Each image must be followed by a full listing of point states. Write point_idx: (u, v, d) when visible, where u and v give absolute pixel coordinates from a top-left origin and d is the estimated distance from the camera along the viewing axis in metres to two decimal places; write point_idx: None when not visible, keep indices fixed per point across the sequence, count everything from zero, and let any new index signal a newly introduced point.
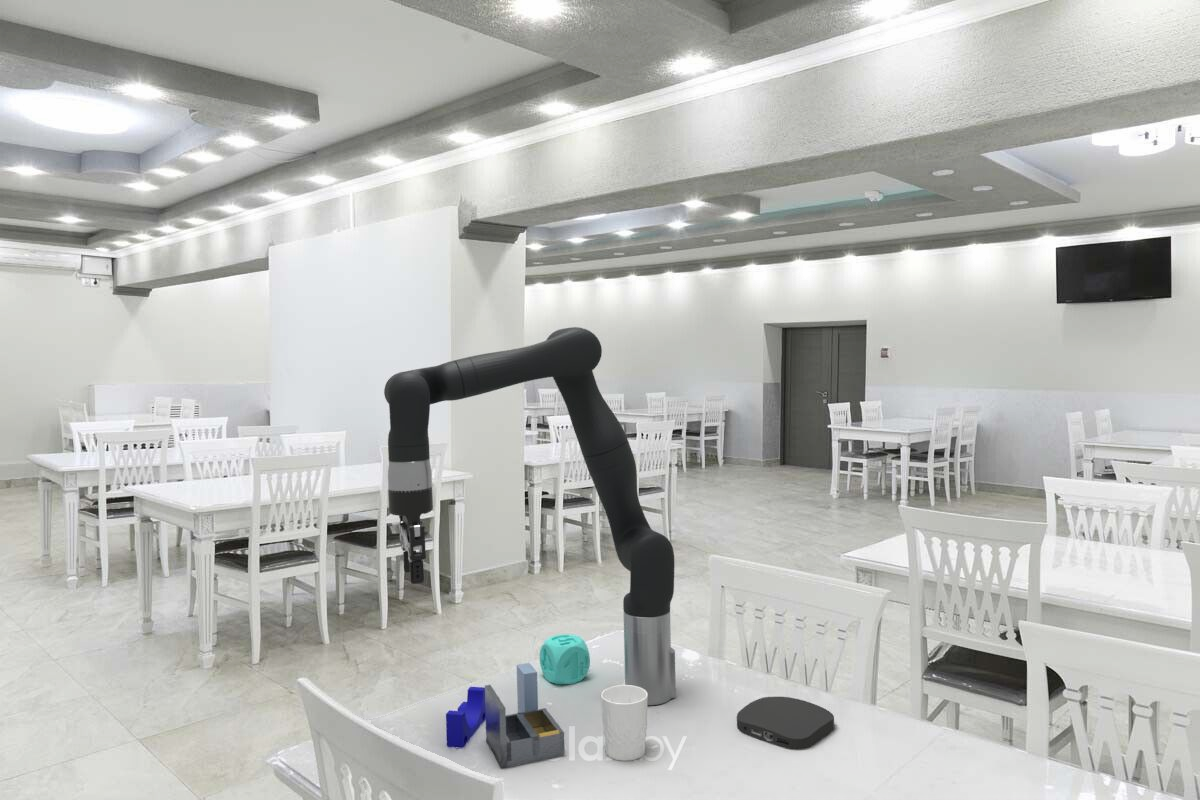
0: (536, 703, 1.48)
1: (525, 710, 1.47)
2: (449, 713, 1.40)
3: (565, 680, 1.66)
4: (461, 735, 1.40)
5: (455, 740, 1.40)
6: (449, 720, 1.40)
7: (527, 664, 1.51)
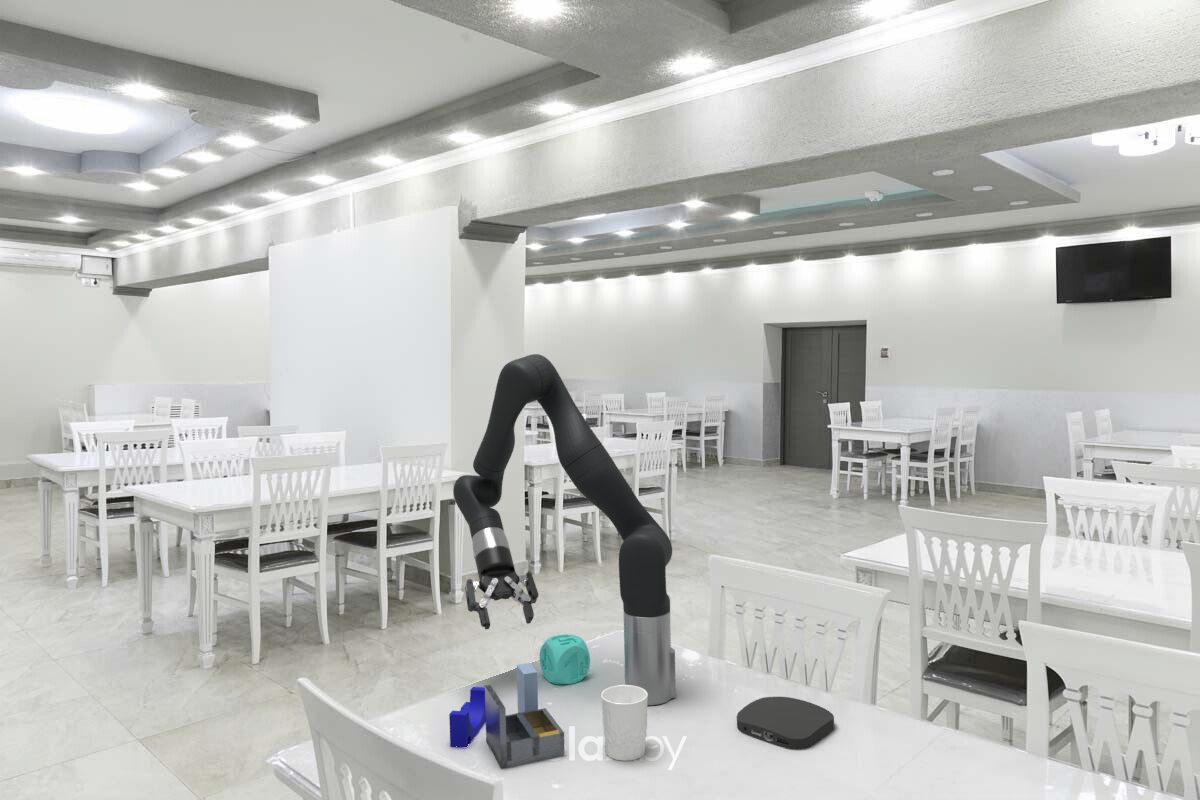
0: (536, 703, 1.48)
1: (525, 710, 1.47)
2: (452, 713, 1.40)
3: (565, 680, 1.66)
4: (465, 735, 1.40)
5: (459, 740, 1.40)
6: (452, 720, 1.40)
7: (527, 664, 1.51)
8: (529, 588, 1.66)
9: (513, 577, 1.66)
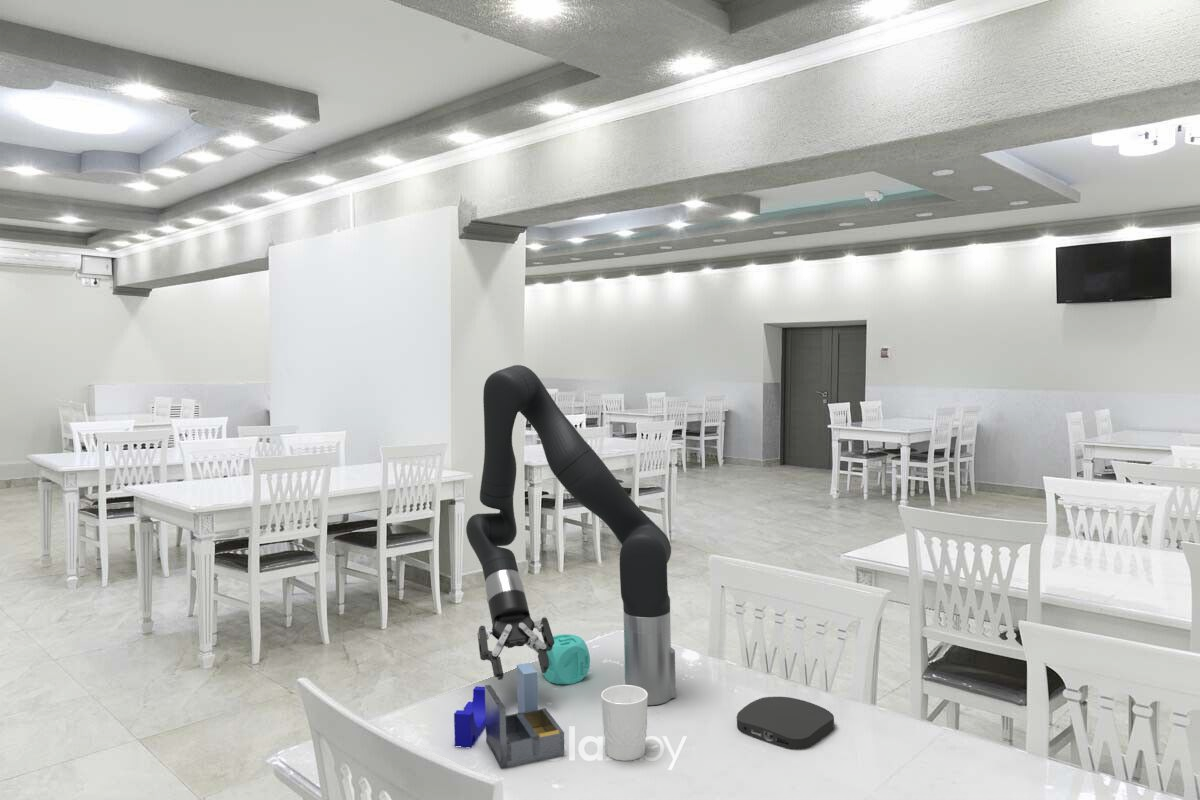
0: (536, 703, 1.48)
1: (525, 710, 1.47)
2: (457, 713, 1.40)
3: (565, 680, 1.66)
4: (469, 735, 1.40)
5: (464, 739, 1.40)
6: (457, 720, 1.40)
7: (527, 664, 1.51)
8: (545, 634, 1.58)
9: (528, 623, 1.58)
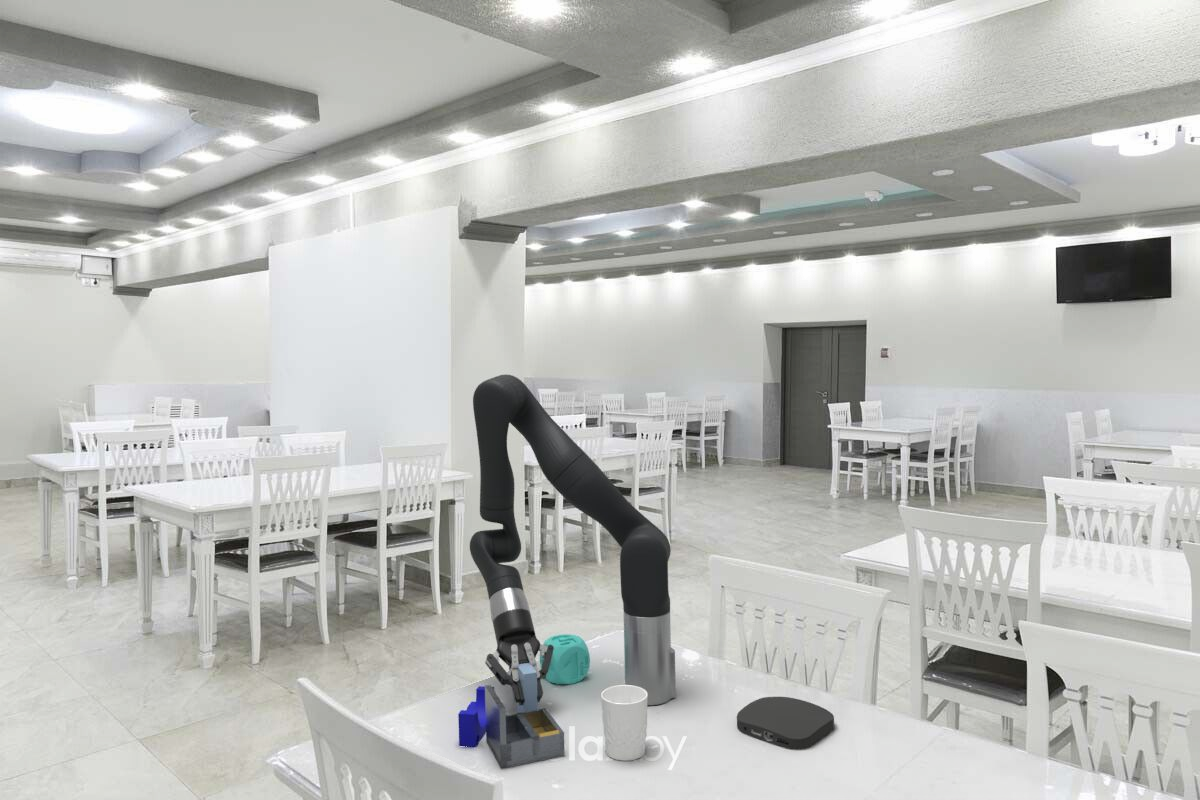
0: (536, 703, 1.48)
1: (525, 710, 1.47)
2: (461, 713, 1.40)
3: (565, 680, 1.66)
4: (474, 734, 1.40)
5: (468, 739, 1.40)
6: (461, 720, 1.40)
7: (527, 664, 1.51)
8: (543, 661, 1.53)
9: (533, 642, 1.55)
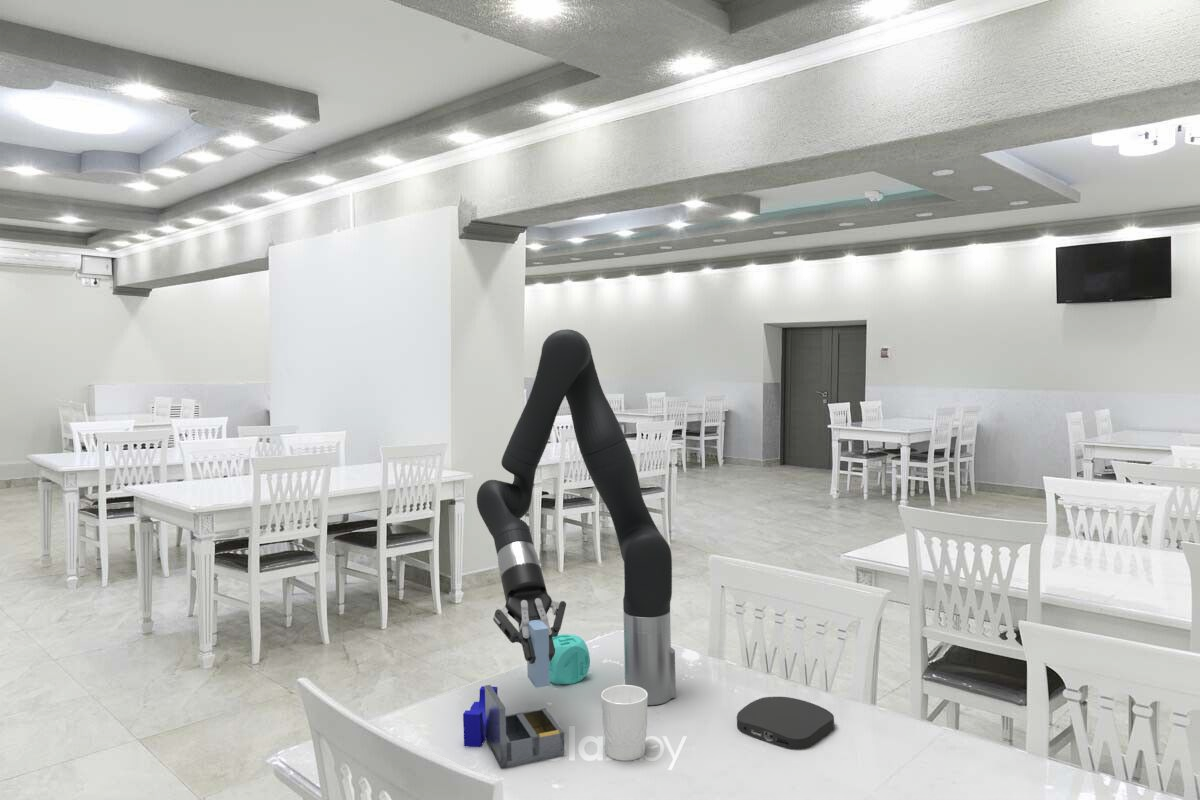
0: (547, 661, 1.38)
1: (536, 669, 1.37)
2: (466, 713, 1.40)
3: (565, 680, 1.66)
4: (479, 734, 1.40)
5: (473, 739, 1.40)
6: (466, 720, 1.40)
7: (538, 620, 1.41)
8: (555, 618, 1.43)
9: (544, 598, 1.45)
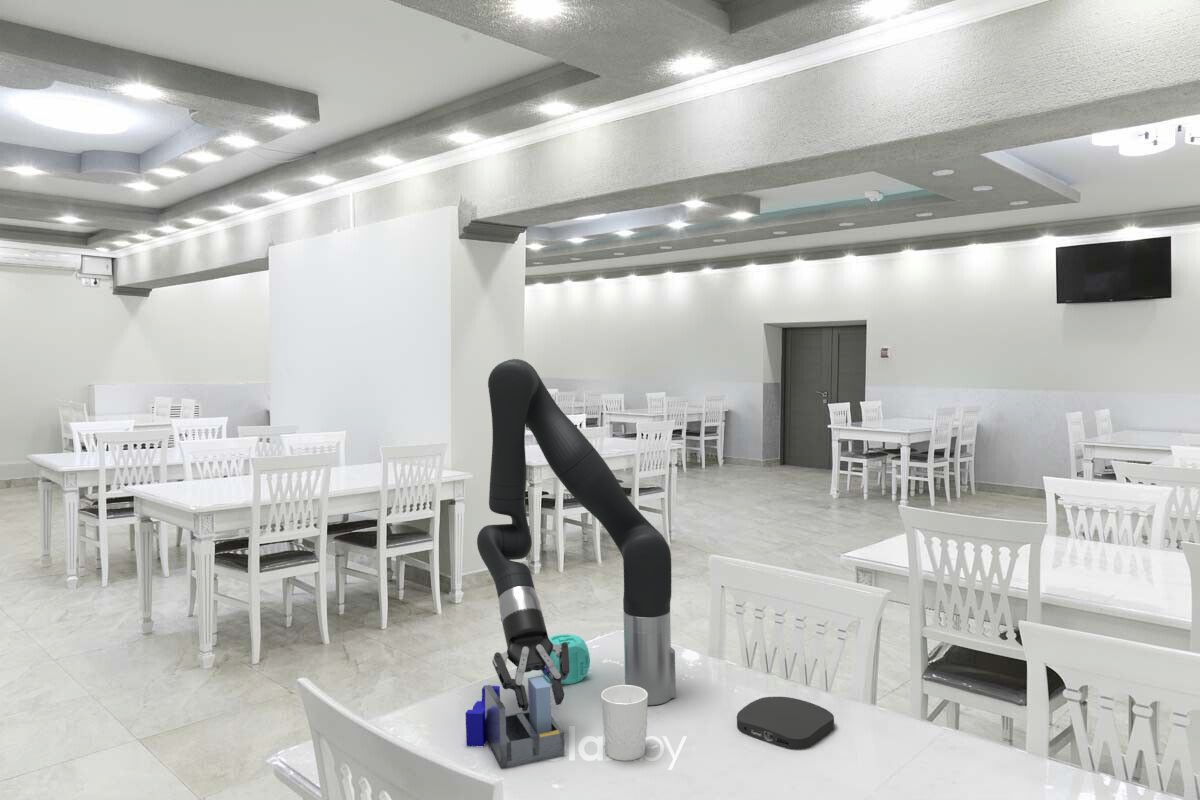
0: (549, 719, 1.38)
1: (538, 727, 1.37)
2: (468, 712, 1.41)
3: (565, 680, 1.66)
4: (481, 734, 1.40)
5: (475, 739, 1.40)
6: (469, 719, 1.40)
7: (539, 677, 1.42)
8: (561, 661, 1.44)
9: (546, 644, 1.45)
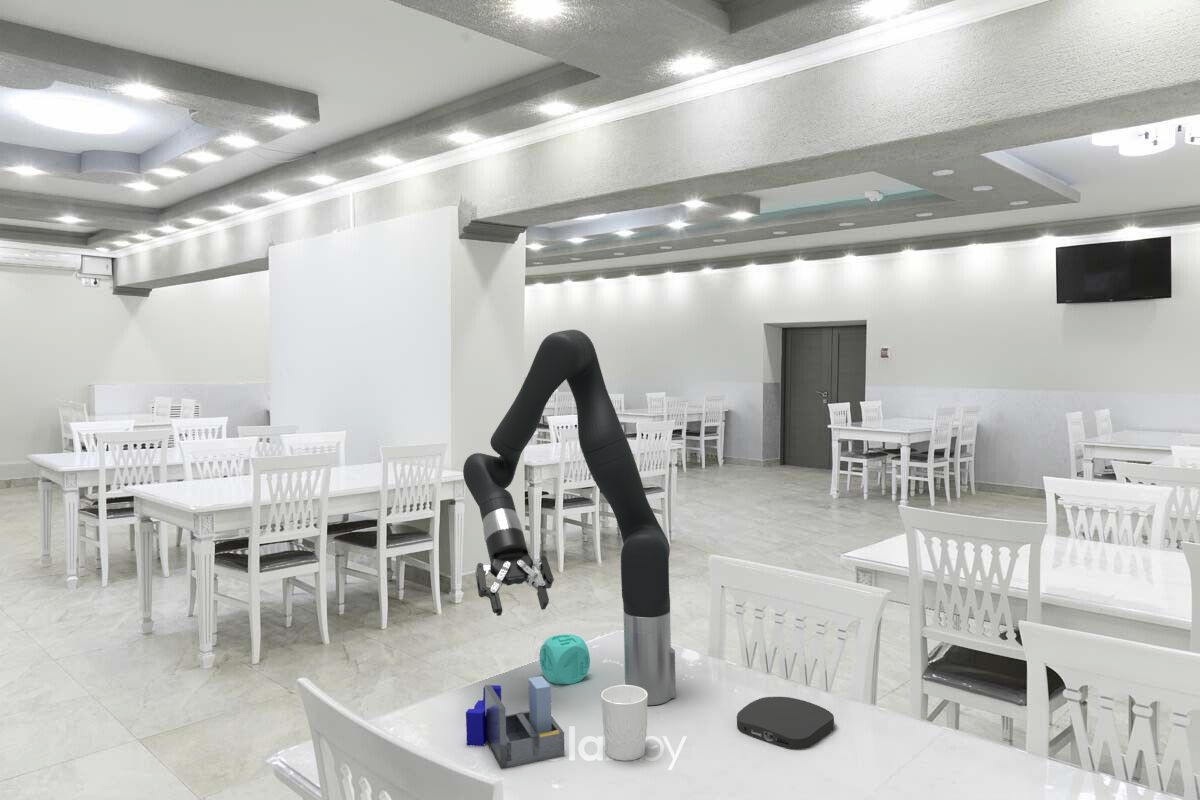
0: (549, 719, 1.38)
1: (538, 727, 1.37)
2: (468, 711, 1.41)
3: (565, 680, 1.66)
4: (481, 733, 1.40)
5: (476, 738, 1.41)
6: (469, 718, 1.41)
7: (540, 677, 1.42)
8: (544, 572, 1.55)
9: (526, 561, 1.56)
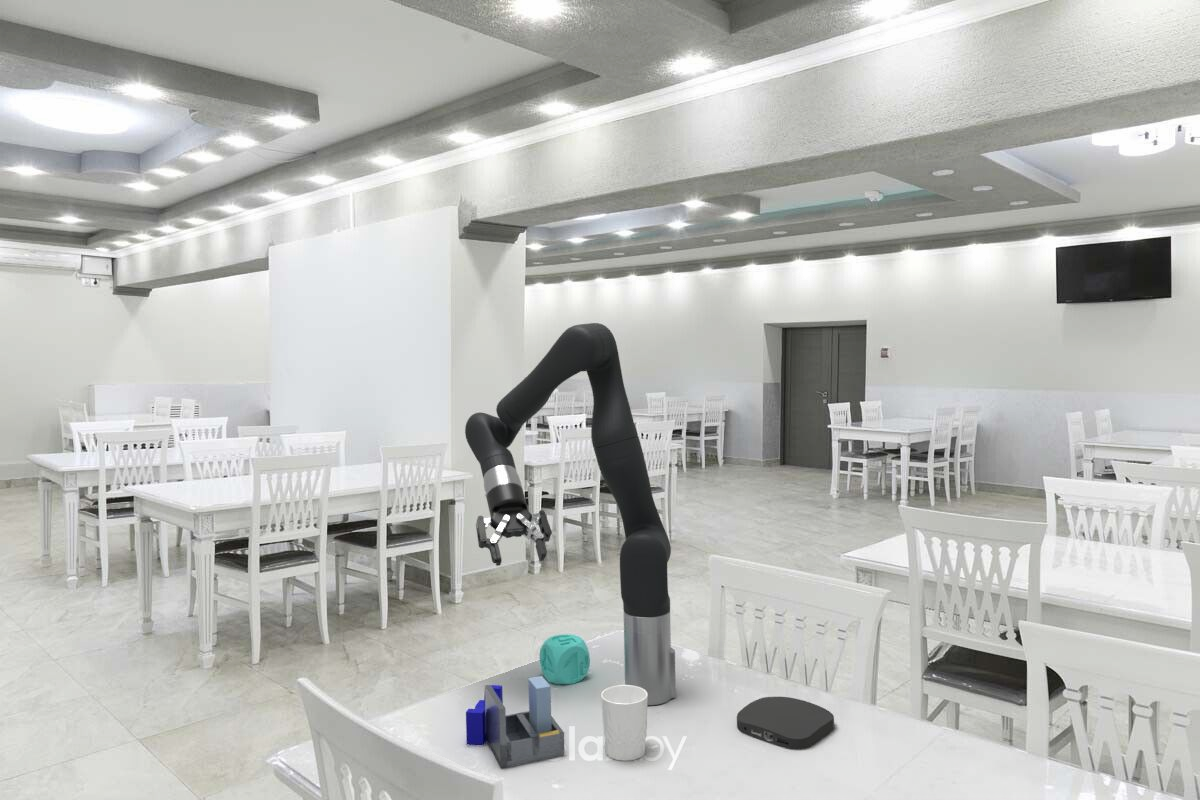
0: (549, 719, 1.38)
1: (538, 727, 1.37)
2: (468, 711, 1.41)
3: (565, 680, 1.66)
4: (481, 733, 1.40)
5: (475, 738, 1.41)
6: (469, 718, 1.41)
7: (540, 677, 1.42)
8: (542, 526, 1.60)
9: (525, 515, 1.60)
